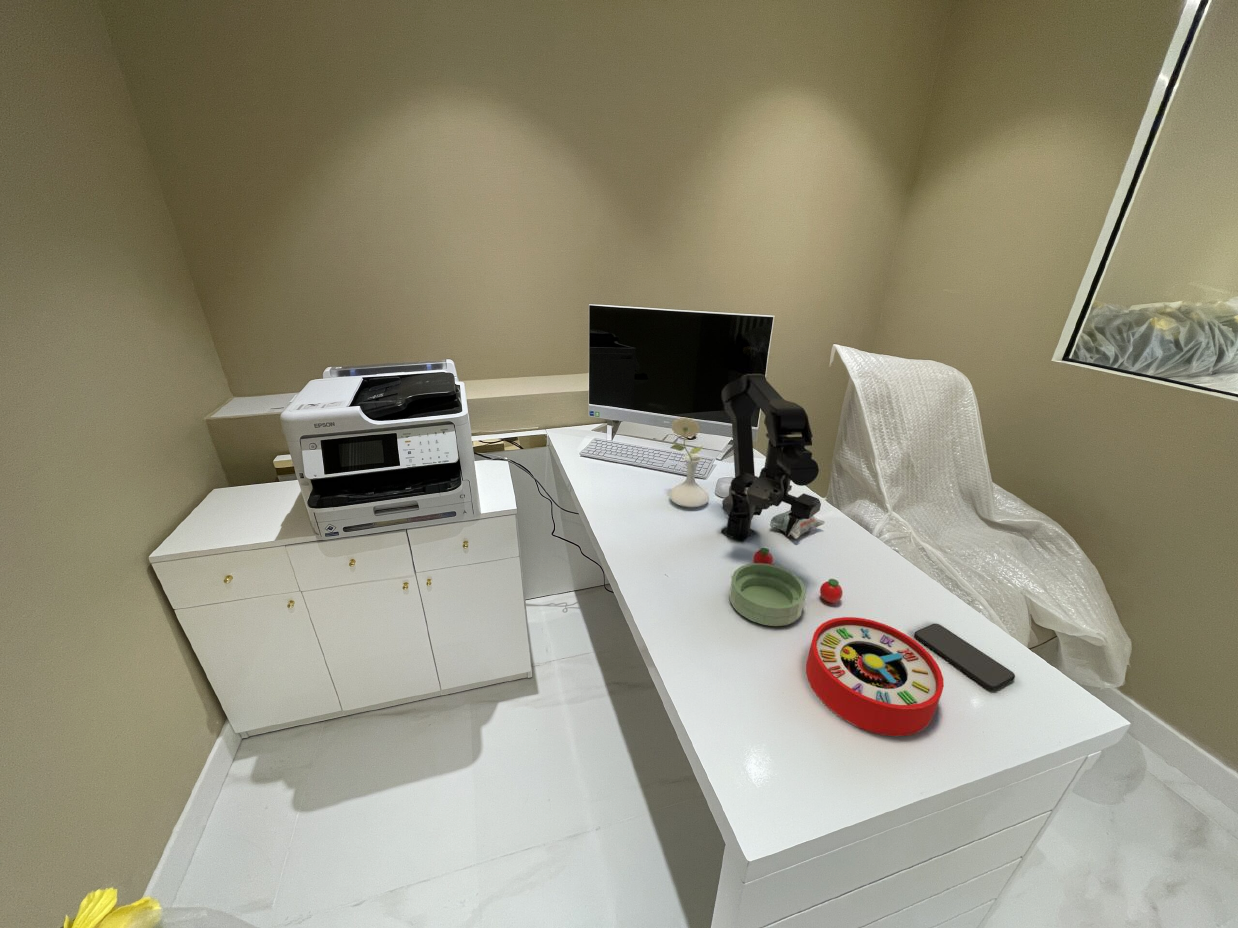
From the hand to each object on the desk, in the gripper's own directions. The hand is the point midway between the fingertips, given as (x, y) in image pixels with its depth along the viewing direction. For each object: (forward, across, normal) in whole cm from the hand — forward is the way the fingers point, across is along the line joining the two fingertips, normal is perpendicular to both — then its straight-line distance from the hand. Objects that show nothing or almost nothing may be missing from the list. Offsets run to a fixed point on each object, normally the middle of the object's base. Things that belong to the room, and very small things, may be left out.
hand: (768, 528), depth 112 cm
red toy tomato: (+11, +16, 0) cm, 19 cm away
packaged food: (+11, -2, +21) cm, 24 cm away
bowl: (+11, +7, -11) cm, 17 cm away
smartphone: (+11, +40, +2) cm, 41 cm away
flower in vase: (+11, -32, +13) cm, 36 cm away
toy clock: (+11, +30, -17) cm, 36 cm away
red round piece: (+11, 0, 0) cm, 11 cm away
